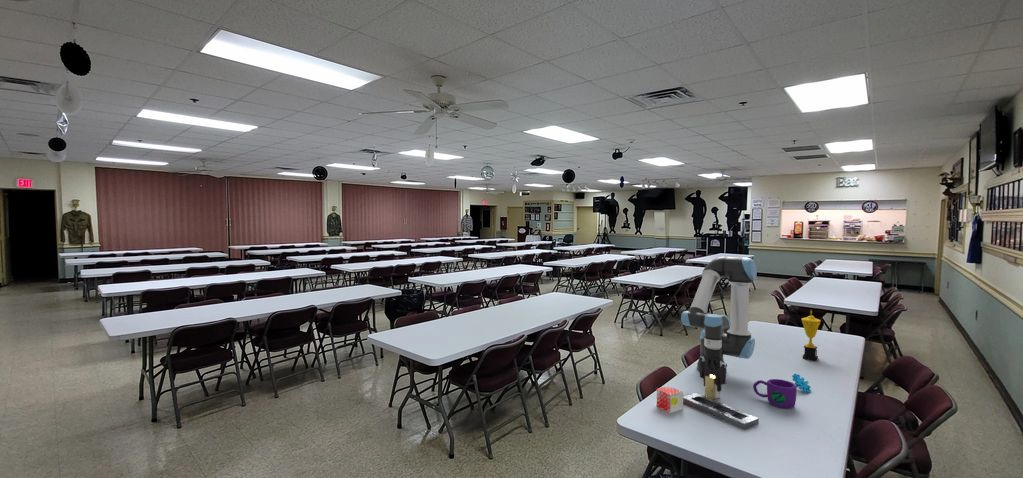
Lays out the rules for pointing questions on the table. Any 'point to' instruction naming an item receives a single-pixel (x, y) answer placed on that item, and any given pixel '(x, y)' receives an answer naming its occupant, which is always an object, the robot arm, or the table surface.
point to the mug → (779, 392)
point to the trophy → (810, 336)
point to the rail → (728, 415)
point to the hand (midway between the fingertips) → (712, 395)
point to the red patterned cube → (670, 399)
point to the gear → (801, 383)
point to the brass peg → (710, 386)
